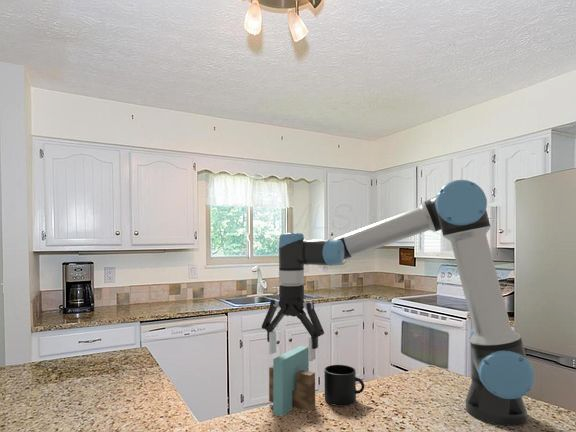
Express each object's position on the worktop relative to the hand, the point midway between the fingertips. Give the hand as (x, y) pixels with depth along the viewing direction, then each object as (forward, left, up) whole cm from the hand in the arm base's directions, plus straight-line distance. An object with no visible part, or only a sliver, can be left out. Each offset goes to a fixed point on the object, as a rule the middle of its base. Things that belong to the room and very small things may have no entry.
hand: (291, 356), depth 115 cm
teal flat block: (0, 0, -14) cm, 14 cm away
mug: (-12, -11, -14) cm, 22 cm away
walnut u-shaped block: (0, 0, -14) cm, 14 cm away
